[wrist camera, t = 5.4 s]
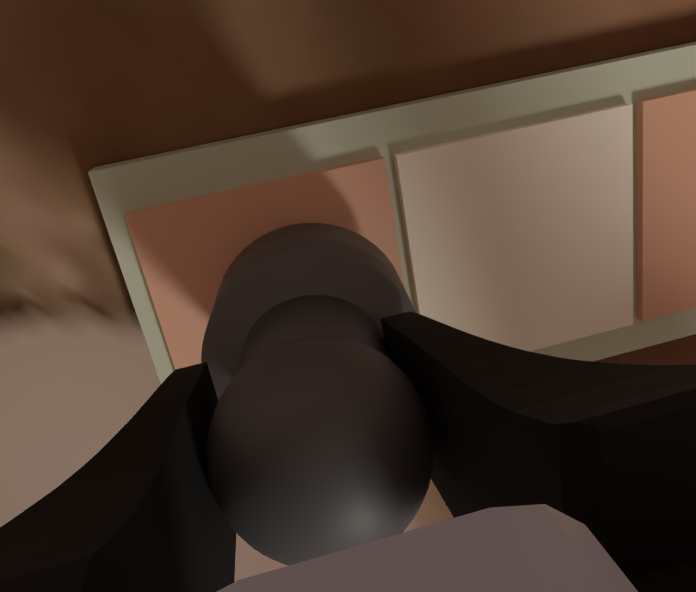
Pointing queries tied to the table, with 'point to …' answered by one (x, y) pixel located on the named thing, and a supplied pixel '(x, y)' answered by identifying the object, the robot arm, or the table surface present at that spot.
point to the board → (448, 208)
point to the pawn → (312, 397)
